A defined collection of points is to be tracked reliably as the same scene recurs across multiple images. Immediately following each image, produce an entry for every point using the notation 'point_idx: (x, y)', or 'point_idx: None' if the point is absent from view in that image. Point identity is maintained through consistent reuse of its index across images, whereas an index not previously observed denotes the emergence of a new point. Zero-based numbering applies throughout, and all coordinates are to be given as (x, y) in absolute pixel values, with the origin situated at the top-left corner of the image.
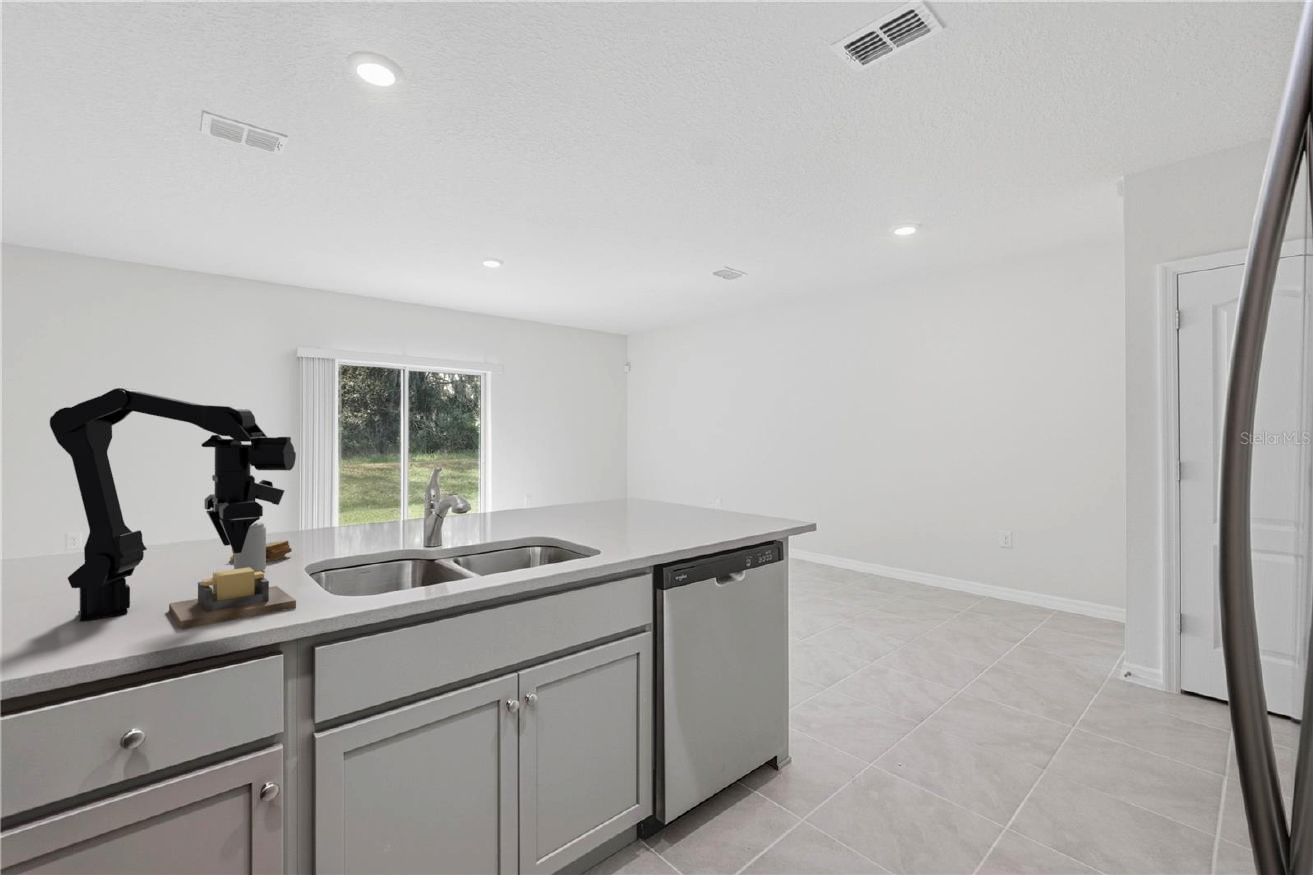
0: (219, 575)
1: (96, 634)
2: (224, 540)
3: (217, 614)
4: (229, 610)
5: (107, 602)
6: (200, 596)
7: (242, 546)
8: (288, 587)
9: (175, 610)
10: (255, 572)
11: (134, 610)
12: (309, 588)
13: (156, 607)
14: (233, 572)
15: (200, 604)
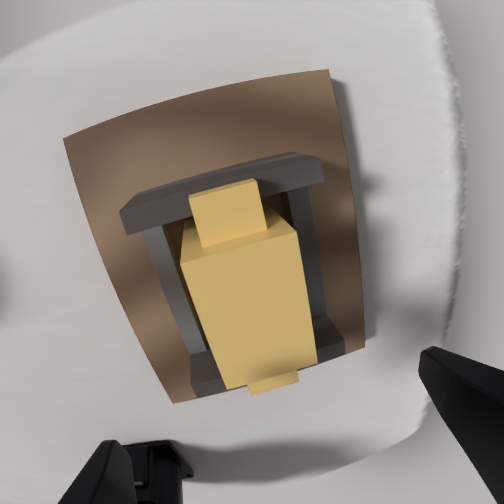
0: (308, 358)
1: (288, 441)
2: (128, 485)
3: (361, 284)
4: (340, 260)
5: (177, 479)
6: None
7: (464, 360)
8: (21, 109)
9: None
10: (204, 224)
11: (140, 434)
12: (70, 36)
13: (127, 410)
14: (279, 320)
15: None
